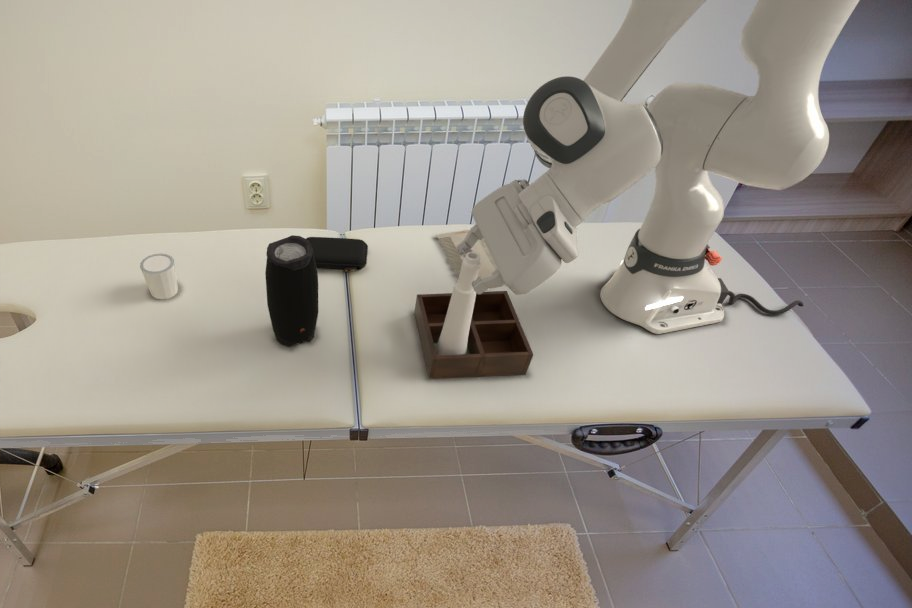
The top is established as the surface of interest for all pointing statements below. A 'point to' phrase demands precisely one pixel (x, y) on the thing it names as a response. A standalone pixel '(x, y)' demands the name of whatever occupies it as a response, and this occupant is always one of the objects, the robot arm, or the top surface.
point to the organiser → (474, 337)
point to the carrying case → (339, 253)
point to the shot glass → (160, 275)
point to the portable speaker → (292, 290)
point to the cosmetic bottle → (460, 310)
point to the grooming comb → (480, 247)
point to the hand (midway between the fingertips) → (466, 270)
